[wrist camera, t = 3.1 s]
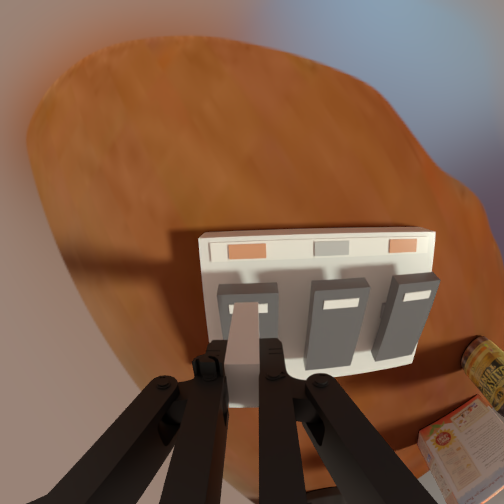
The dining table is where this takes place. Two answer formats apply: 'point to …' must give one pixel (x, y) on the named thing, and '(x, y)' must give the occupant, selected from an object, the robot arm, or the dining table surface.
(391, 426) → the dining table surface
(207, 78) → the dining table surface
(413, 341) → the switch
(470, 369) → the sauce bottle
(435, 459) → the cracker box
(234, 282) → the switch panel
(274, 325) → the switch
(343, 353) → the switch middle
